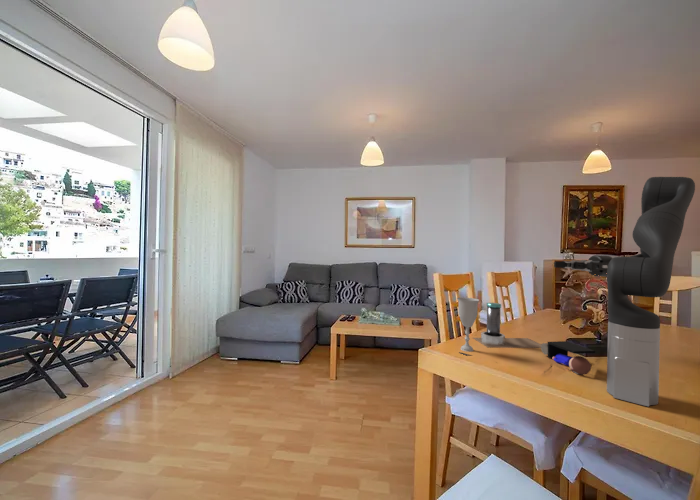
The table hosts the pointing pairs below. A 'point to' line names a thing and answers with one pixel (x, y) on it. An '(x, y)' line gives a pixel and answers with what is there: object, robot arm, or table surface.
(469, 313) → the chalice
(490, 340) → the collar
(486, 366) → the table surface
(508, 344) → the grey flat rectangular plate
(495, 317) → the dark jar with lid
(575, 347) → the figurine character
